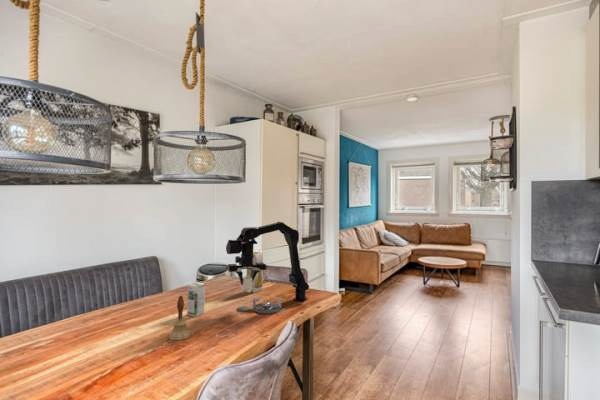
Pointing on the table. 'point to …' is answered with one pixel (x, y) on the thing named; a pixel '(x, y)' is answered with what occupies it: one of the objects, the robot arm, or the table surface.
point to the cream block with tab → (247, 284)
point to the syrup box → (196, 299)
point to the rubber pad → (243, 309)
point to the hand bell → (180, 324)
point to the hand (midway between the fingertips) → (246, 284)
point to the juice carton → (259, 276)
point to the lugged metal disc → (266, 306)
